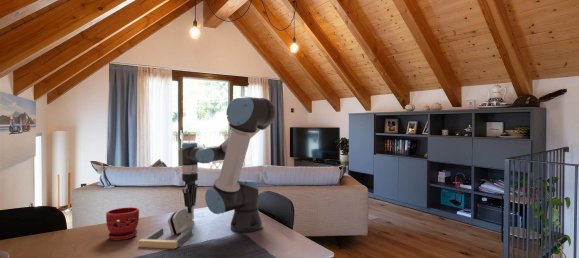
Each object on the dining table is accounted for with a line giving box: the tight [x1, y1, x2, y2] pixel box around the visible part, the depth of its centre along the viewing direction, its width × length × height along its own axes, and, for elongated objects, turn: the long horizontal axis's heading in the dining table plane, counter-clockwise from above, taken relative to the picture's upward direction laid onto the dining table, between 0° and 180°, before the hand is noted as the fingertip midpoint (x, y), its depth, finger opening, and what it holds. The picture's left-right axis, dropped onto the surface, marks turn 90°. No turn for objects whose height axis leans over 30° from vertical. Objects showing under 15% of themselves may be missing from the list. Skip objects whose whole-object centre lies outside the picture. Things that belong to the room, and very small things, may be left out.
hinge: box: [167, 208, 196, 236], centre depth 153 cm, size 17×5×10 cm, turn 177°
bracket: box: [138, 227, 193, 249], centre depth 138 cm, size 16×16×2 cm
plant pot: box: [105, 206, 140, 241], centre depth 144 cm, size 13×13×12 cm
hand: (190, 219), depth 162 cm, fingers closed
